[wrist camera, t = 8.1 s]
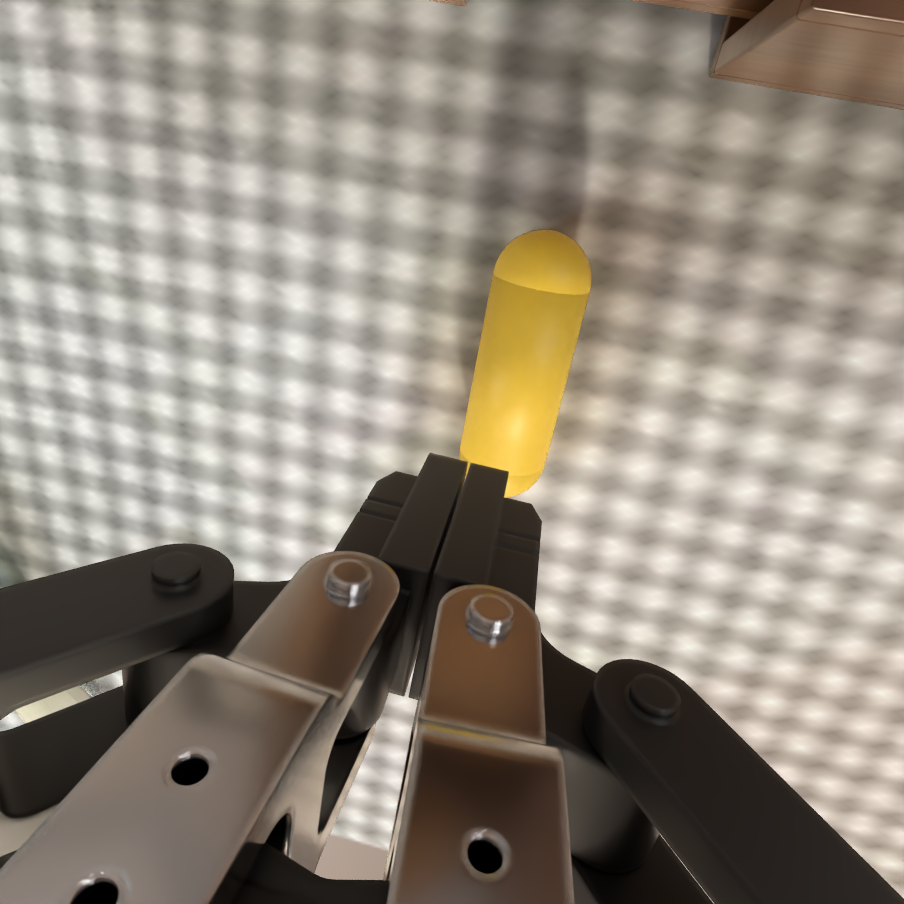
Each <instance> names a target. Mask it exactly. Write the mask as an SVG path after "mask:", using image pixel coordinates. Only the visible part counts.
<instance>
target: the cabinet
mask: <svg viewBox="0 0 904 904" xmlns="http://www.w3.org/2000/svg"><path fill="white" fill-rule="evenodd" d="M709 77H711V78H717V79H723V80H729V81H735V82H741V83H747V84H753V85H759V86H765V87H771V88H777V89H783V90H789V91H795V92H801V93H807V94H813V95H819V96H825V97H831V98H837V99H843V100H849V101H855V102H861V103H867V104H873V105H878V106H884V107H890V108H896V109H902V110H904V0H774V1H773V2H772V3H770V4H769V5H768V6H767V7H766V8H764V9H763V10H762V11H761V12H760V13H758V14H757V15H756V16H755V17H753V18H752V19H746V18H739V17H733V16H727V15H726V19H725V22H724V25H723V29H722V32H721V35H720V39H719V42H718V45H717V49H716V52H715V55H714V59H713V62H712V66H711V69H710V72H709Z"/></svg>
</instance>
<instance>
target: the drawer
mask: <svg viewBox="0 0 904 904" xmlns="http://www.w3.org/2000/svg"><path fill="white" fill-rule="evenodd" d="M429 1H435V2H441V3H448V4H454V5H460V6H465V5H466V4H467V0H429ZM632 1H638V2H644V3H651V4H657V5H663V6H670V7H676V8H682V9H689V10H695V11H701V12H708V13H714V14H720V15H727V16H733V17H739V18H746V19H752V18H753V17H755V16H756V15H757V14H758V13H760V12H761V11H762V10H763V9H764V8H766V7H767V6H768V5H769V4H770V3H772V2H773V1H774V0H632Z"/></svg>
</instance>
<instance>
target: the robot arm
mask: <svg viewBox="0 0 904 904" xmlns="http://www.w3.org/2000/svg"><path fill="white" fill-rule="evenodd" d="M467 466H468V462H466V461H462V460H458V459H454V458H450V457H445V456H441V455H437V454H433V453H430V454H429V455H428V457H427V459H426V461H425V463H424V465H423V467H422V469H421V471H420V473H419V475H418V477H417V476H413V475H409V474H405V473H401V472H397V471H396V472H394V473H392V474H390V475H388V476H386V477H384V478H383V479H381V480H379V481H377V482H376V484H375V486H374V487H373V489H372V490H371V492H370V494H369V495H368V498H367V499H366V500H365V502H364V503H363V505H362V507H361V508H360V512H358V513H357V515H356V516H355V518H354V520H353V521H352V523H351V524H350V526H349V528H348V529H347V531H346V532H345V534H344V536H343V537H342V539H341V541H340V542H339V544H338V545H337V547H336V549H335V550H334V552H329V553H325V554H321V555H318V556H316V557H314V558H312V559H310V560H309V561H307V562H306V563H305V564H304V565H303V566H302V567H301V568H300V569H299V570H298V572H297V573H296V574H295V575H294V576H293V578H292V579H291V580H289V581H280V582H255V581H234V569H233V565H232V564H231V562H230V560H229V559H228V558H227V557H226V556H225V555H223V554H222V553H220V552H219V551H217V550H214V549H212V548H209V547H206V546H202V545H196V544H170V545H164V546H159V547H155V548H151V549H147V550H143V551H140V552H136V553H132V554H128V555H125V556H121V557H117V558H113V559H110V560H106V561H102V562H98V563H95V564H91V565H87V566H83V567H80V568H76V569H72V570H68V571H65V572H61V573H57V574H53V575H49V576H46V577H42V578H38V579H34V580H31V581H27V582H23V583H19V584H16V585H12V586H8V587H4V588H1V589H0V720H1V719H2V718H4V717H5V716H6V715H8V714H9V713H11V712H13V711H15V710H16V709H19V708H21V707H23V706H26V705H29V704H31V703H34V702H36V701H39V700H42V699H44V698H47V697H50V696H52V695H55V694H58V693H60V692H63V691H66V690H68V689H71V688H74V687H76V686H79V685H82V684H84V683H87V682H90V681H92V680H95V679H98V678H100V677H103V676H105V675H108V674H111V673H113V672H116V671H119V670H121V669H122V676H123V686H120V687H117V688H115V689H112V690H110V691H107V692H105V693H102V694H100V695H97V696H95V697H92V698H89V699H87V700H84V701H82V702H79V703H77V704H74V705H72V706H69V707H67V708H64V709H61V710H59V711H56V712H54V713H51V714H49V715H46V716H44V717H41V718H39V719H36V720H33V721H31V722H28V723H26V724H23V725H21V726H18V727H16V728H13V729H10V730H6V731H0V904H713V903H712V901H713V902H714V904H904V899H903V898H902V897H901V896H900V895H899V894H898V893H897V892H896V891H895V890H894V889H893V888H892V887H891V886H890V885H889V884H888V883H887V882H886V881H885V880H884V879H883V878H882V877H881V876H880V875H879V874H878V873H877V872H876V871H875V870H874V869H873V868H872V867H871V866H870V865H869V864H868V863H867V862H866V861H865V860H864V859H863V858H862V857H861V856H860V855H859V854H858V853H857V852H856V851H855V850H854V849H853V848H852V847H851V846H850V845H849V844H848V843H847V842H846V841H845V840H844V839H843V838H842V837H841V836H840V835H839V834H838V833H837V832H836V831H835V830H834V829H833V828H832V827H831V826H830V825H829V824H828V823H827V822H826V821H825V820H824V819H823V818H822V817H821V816H820V815H819V814H818V813H817V812H816V811H815V810H814V809H813V808H812V807H811V806H810V805H809V804H808V803H807V802H806V801H805V800H804V799H803V798H802V797H801V796H800V795H799V794H798V793H797V792H796V791H795V790H793V789H792V788H791V787H790V786H789V785H788V784H787V783H786V782H785V781H784V780H783V779H782V778H781V777H780V776H779V775H778V774H777V773H776V772H775V771H774V770H773V769H772V768H771V767H770V766H769V765H768V764H767V763H766V762H765V761H764V760H763V759H762V758H761V757H760V756H759V755H758V754H757V753H756V752H755V751H754V750H753V749H752V748H751V747H750V746H749V745H748V744H747V743H746V742H745V741H744V740H743V739H742V738H741V737H740V736H739V735H738V734H737V733H736V732H735V731H734V730H733V729H732V728H731V727H730V726H729V725H728V724H727V723H726V722H725V721H724V720H723V719H722V718H721V717H720V716H719V715H718V714H717V713H716V712H715V711H714V710H713V709H712V708H711V707H710V706H709V705H708V704H707V703H706V702H705V701H704V700H703V699H702V698H701V697H700V696H699V695H698V694H697V693H696V692H695V691H694V690H693V689H692V688H691V687H689V686H688V685H687V684H686V683H685V682H684V681H683V680H681V679H680V678H678V677H677V676H676V675H674V674H673V673H671V672H669V671H667V670H666V669H664V668H661V667H659V666H657V665H654V664H651V663H648V662H645V661H640V660H633V659H620V660H615V661H612V662H610V663H607V664H606V665H604V666H603V667H602V668H601V669H600V670H599V671H598V672H597V673H596V672H594V671H592V670H590V669H588V668H586V667H584V666H582V665H580V664H578V663H576V662H575V661H573V660H571V659H569V658H568V657H566V656H564V655H563V654H562V653H560V652H559V651H558V650H556V649H555V648H554V647H553V646H552V645H551V644H550V643H549V642H548V641H547V640H546V639H545V637H544V636H543V634H542V633H541V628H540V622H539V620H538V617H537V615H536V614H535V600H536V588H537V575H538V562H539V550H540V537H541V524H542V521H541V519H540V518H539V516H538V514H537V513H536V511H535V509H534V507H533V506H532V504H529V503H525V502H521V501H517V500H513V499H509V498H505V497H504V495H505V490H506V485H507V480H508V475H509V471H505V470H500V469H496V468H492V467H488V466H484V465H479V464H475V463H471V464H470V467H469V470H468V473H467V476H466V472H467ZM465 477H466V479H465ZM464 481H465V482H464ZM416 657H417V658H416ZM415 660H416V663H415ZM414 663H415V668H414V673H413V678H412V683H411V688H410V693H409V698H413V699H416V700H418V703H417V708H416V713H415V717H414V723H413V727H412V731H411V736H410V741H409V745H408V750H407V755H406V761H405V766H404V771H403V777H402V782H401V787H400V793H399V798H398V803H397V809H396V814H395V819H394V825H393V830H392V835H391V840H390V846H389V851H388V856H387V862H386V867H385V872H384V878H383V880H333V879H326V878H322V877H320V876H318V875H316V874H314V872H315V870H316V866H317V864H318V861H319V858H320V856H321V853H322V851H323V849H324V846H325V844H326V842H327V839H328V837H329V835H330V833H331V831H332V828H333V826H334V824H335V822H336V819H337V817H338V815H339V813H340V810H341V808H342V806H343V804H344V801H345V799H346V797H347V795H348V792H349V790H350V788H351V786H352V783H353V781H354V779H355V777H356V774H357V772H358V770H359V768H360V765H361V763H362V761H363V759H364V756H365V754H366V752H367V750H368V747H369V745H370V743H371V741H372V738H373V735H374V731H375V726H376V722H377V720H378V719H379V717H380V715H381V713H382V711H383V708H384V705H385V702H386V699H387V696H388V693H389V692H390V693H393V694H397V695H401V696H404V695H405V692H406V689H407V686H408V682H409V679H410V676H411V673H412V670H413V667H414ZM660 834H661V835H662V837H663V838H664V839H665V840H666V842H667V843H668V844H669V846H670V847H671V848H672V849H673V851H674V852H675V853H676V855H677V856H678V857H679V859H680V860H681V861H682V862H683V864H684V865H685V866H686V868H687V869H688V870H689V871H690V873H691V874H692V875H693V877H694V878H695V879H696V880H697V882H698V883H699V884H700V886H701V887H702V888H703V889H704V891H705V892H706V893H707V895H708V896H709V897H710V898H711V900H712V901H711V900H710V899H709V897H708V896H707V895H706V894H705V892H704V891H703V890H702V888H701V887H700V886H699V884H698V883H697V882H696V881H695V879H694V878H693V877H692V875H691V874H690V873H689V872H688V870H687V869H686V868H685V866H684V865H683V864H682V863H681V861H680V860H679V859H678V857H677V856H676V855H675V853H674V852H673V851H672V850H671V848H670V847H669V846H668V844H667V843H666V842H665V841H664V839H663V838H662V837H661V835H660Z"/></svg>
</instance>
